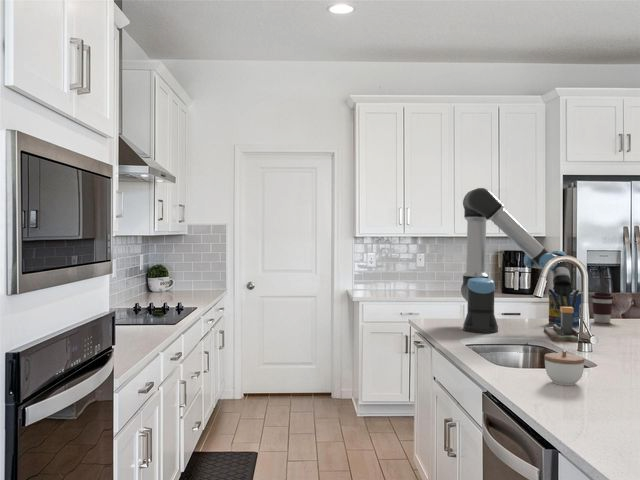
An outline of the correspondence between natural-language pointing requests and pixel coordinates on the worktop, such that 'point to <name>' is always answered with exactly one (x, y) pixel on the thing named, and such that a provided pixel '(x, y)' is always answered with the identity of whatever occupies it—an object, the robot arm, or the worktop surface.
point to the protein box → (556, 313)
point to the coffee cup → (602, 306)
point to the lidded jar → (564, 368)
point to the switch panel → (561, 334)
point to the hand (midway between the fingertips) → (567, 321)
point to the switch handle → (567, 319)
